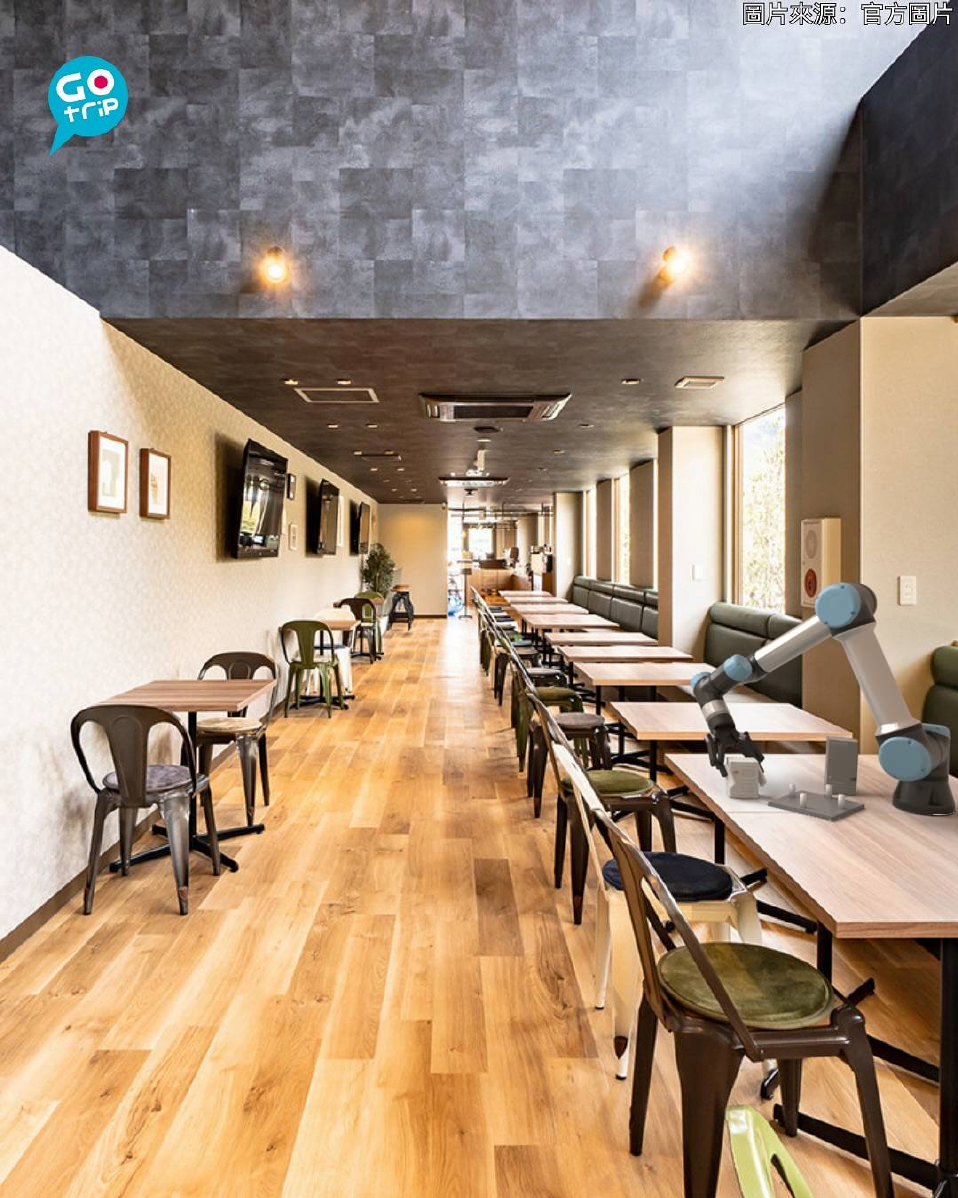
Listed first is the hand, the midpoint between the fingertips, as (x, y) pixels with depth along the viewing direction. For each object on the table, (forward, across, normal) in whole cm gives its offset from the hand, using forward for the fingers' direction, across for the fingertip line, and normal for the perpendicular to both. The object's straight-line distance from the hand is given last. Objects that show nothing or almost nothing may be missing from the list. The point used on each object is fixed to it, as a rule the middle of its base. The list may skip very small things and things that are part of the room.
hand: (748, 785), depth 233 cm
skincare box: (+3, -30, -3) cm, 31 cm away
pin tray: (+11, -14, +5) cm, 18 cm away
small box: (+1, 0, -5) cm, 5 cm away
